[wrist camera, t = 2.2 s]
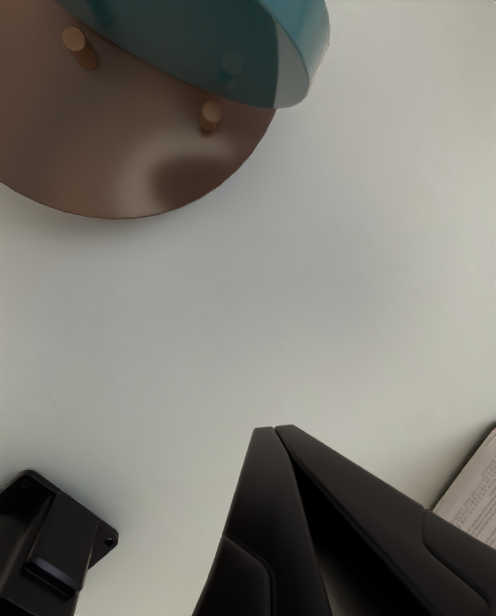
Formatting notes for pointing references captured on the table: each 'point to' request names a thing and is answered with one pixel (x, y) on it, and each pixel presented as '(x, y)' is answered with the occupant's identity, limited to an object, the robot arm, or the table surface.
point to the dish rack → (145, 95)
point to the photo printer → (474, 495)
